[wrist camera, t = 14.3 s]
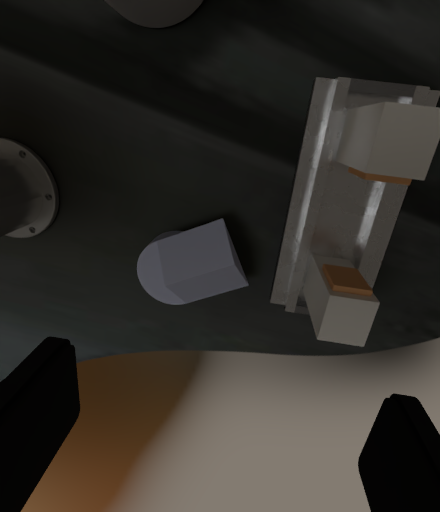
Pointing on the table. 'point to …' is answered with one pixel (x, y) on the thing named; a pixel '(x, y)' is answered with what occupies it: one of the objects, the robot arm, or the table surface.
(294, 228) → the rail
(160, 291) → the wedge on round base
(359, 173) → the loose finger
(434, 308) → the table surface
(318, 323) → the block
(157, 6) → the cylinder vase
